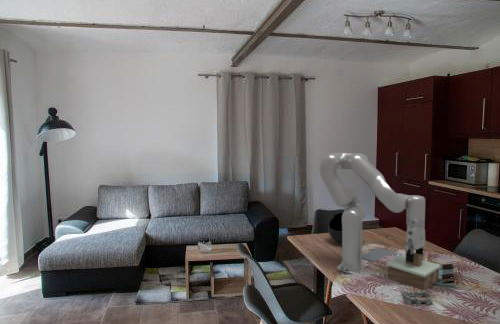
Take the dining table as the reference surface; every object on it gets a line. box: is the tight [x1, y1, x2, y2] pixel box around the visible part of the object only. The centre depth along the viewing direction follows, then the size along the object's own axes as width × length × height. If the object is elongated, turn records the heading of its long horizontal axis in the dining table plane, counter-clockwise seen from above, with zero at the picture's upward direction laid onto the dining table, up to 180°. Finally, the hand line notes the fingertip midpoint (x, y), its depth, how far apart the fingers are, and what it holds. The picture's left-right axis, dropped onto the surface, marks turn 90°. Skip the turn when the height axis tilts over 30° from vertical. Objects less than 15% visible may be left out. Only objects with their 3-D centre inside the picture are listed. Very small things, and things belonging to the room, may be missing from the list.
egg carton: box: [401, 289, 434, 308], centre depth 134 cm, size 11×8×4 cm
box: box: [387, 266, 440, 291], centre depth 153 cm, size 16×16×7 cm
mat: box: [362, 247, 403, 263], centre depth 182 cm, size 22×22×1 cm
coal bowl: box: [327, 212, 343, 245], centre depth 206 cm, size 20×20×19 cm
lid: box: [386, 251, 442, 277], centre depth 153 cm, size 17×17×6 cm
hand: (414, 259), depth 152 cm, fingers open, 9 cm apart
